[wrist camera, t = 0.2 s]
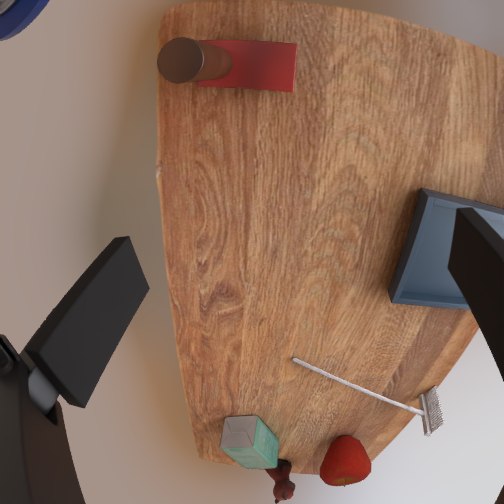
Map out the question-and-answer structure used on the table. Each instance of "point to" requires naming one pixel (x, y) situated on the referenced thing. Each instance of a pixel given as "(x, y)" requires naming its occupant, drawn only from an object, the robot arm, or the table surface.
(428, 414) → the brush
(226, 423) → the box
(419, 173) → the table surface
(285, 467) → the stuffed fox
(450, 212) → the tray
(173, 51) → the brown cylinder on base
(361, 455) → the apple
